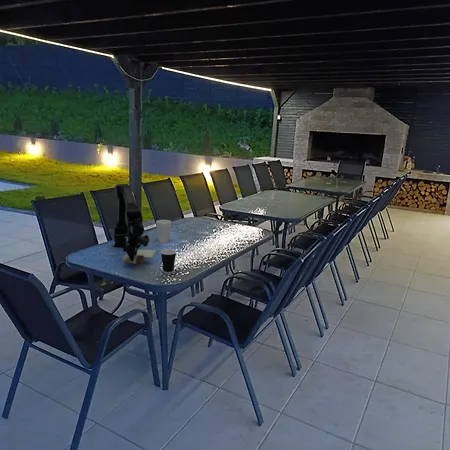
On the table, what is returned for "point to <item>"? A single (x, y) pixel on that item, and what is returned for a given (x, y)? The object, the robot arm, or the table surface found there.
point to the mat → (146, 253)
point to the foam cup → (163, 230)
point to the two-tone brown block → (137, 259)
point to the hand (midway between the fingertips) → (133, 259)
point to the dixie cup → (168, 260)
